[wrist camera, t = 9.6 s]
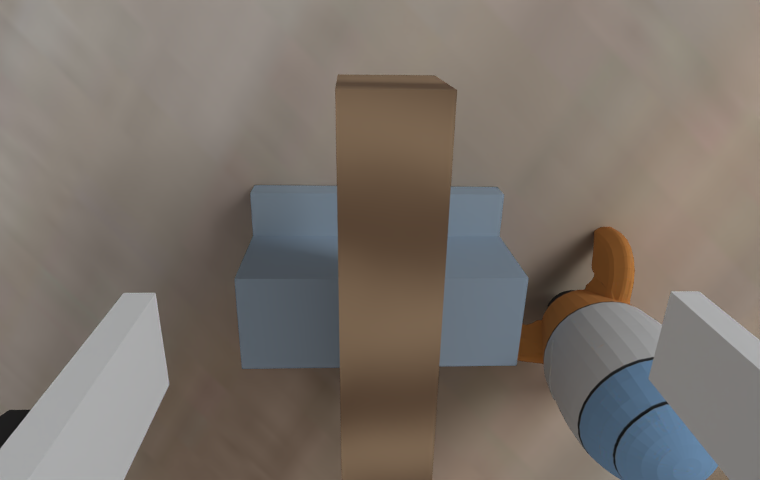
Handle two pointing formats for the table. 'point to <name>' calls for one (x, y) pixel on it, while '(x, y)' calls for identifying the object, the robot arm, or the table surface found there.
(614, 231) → the toy rocket
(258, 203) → the slate ridge
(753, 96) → the table surface
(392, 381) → the walnut bar
